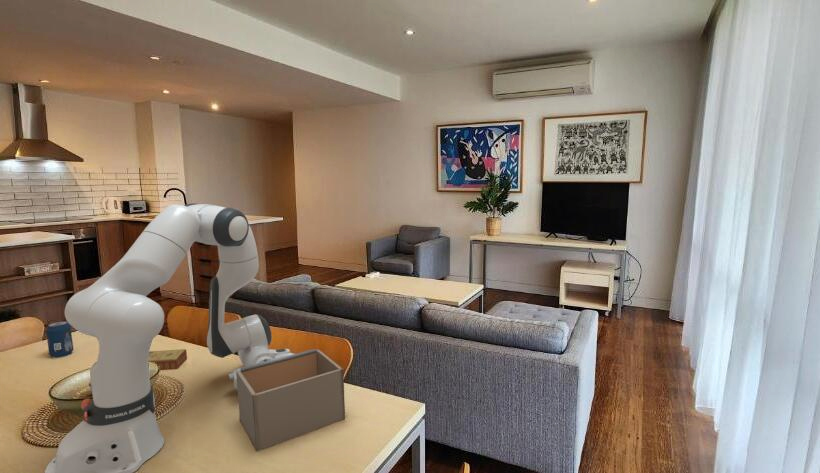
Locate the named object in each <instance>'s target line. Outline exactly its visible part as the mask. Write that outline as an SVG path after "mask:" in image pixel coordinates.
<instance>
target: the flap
mask: <svg viewBox="0 0 820 473" xmlns="http://www.w3.org/2000/svg"><path fill="white" fill-rule="evenodd" d="M316 350H317V349H316V348H313V349H309V350H305V351H301V352H298V353H297V352H296V353H293V355H289V356H285V357H281V358H277V359H273V360H269V361H266V362H262V363H258V364H254V365H250V366H246V367H245V366H243V367H239V368H240V371H241V373H242V375H243V376H244V377H245V379H246V380H247V382H248V383H249V385H250V386H251V388H252V389H253V390H254V392H255V393H260V392H263V391H266V390H270V389H273V388H277V387H280V386H283V385H287V384H290V383H294V382H297V381H300V380H304V379H307V378H310V377H314V376H317V357H316V352H317V351H316Z"/></svg>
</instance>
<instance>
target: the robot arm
mask: <svg viewBox="0 0 820 473" xmlns="http://www.w3.org/2000/svg"><path fill="white" fill-rule="evenodd" d="M195 242H197V243H201V244H204V245H210V246H216V247H217V252H218V253H217V254H218V260H219V268H218V270H217V272H216V275H215V276H214V277H213V278H212V279H211V280H210V284H209V294H208V295H209V296H208V298H209V299H208V327H207V335H206V345H207V348H208V351H209V352H210V354H211V355H213V356H215V357H217V358H221V359H223V358H225V357H228V356H230V355H233V354H234V353H237V354H238V357H239V360H240V362H241V364H242V365H243V367H246V366H250V365H254V364H258V363H262V362H266V361H269V360H273V359H277V358H281V357H285V356H289V355H293V354H294V353H293V352H291V350H290V349H289V348H283V349H281V348H280V349H271V348H270V349H269V347H270V346H271V342H272V331H271V327H270V325H269V322H268V321H267V320H266V318H264V317H263V316H262V315H260V314H257V313H256V314H253V315H248V316H245V317H242V318H239V319H236V320H233V321H229V322H225V308H226V302H227V300H228V299H229V297H231V296H232V295H233V294H234V293H235V292H237V291H238V290H240V289H242V288H243V287H245V286H246V285H248V284H249V283H251V282H252V281H253V280H254V278H255V277H256V276H257V274H258V273H259V268H260V261H259V253H258V247H257V243H256V239H255V236H254V233H253V231H252V228H251V226H250V223H249V220H248V218H247V216H246V215H245V214H244V213H243V212H242V211H241V210H238V209H236V208H233V207H225V206H220V205H216V204H211V203H208V204H207V203H200V204H199V203H195V202H194V203H187V204H184V205H183V204H175V203H174V204H170V205H168V206H166V207H165V208H164V209H163V210H161V211H160V213H158V214H157V215H156V216H155V217H154V218H153V219H152V220H151V221H150V222H149V223H148V224H147V226H146V227H145V228H144V230H142V232H141V233H140V235H139V236H138V237H137V239H136V240H135V241H134V243H133V244H132V245H131V246H130V247H129V249H128V250H127V252H125V254H124V255H123V257H122V258H121V259H120V260H119V261H118V262H117V263H115V265H113V266H112V267H111V268H110V269H109V270H107V271H106V273H104V274H103V275H102V276H101V277H99V278H98V279H97V280H96V281H95V282H94V283H93V284H91V285H89V286H88V287H86V288H84V289H82V290H80V291H78V292H76V293H75V294H73V295H72V296H71V297H70V298H69V300H68V301H67V302H66V304H65V308H64V317H65V321H67V322H68V324H69V325H70V327H72V328H74V329H75V330H76V331H77V332H78V333H80V334H84V335H86V336H89V337H92V338H96V339H97V341H98V346H99V348H98V354H97V358H96V359H97V360H96V361H95V362H94V363H93V364H92V365H91V367H90V371H89V376H90V378H89V379H90V382H91V386H92V390H91V394H92V399H91V398H85V399H83V400H82V402H81V405H80V406H81V409H82V416H83V420H81V422H80V423H79V424H77V425H76V426H75V427H74V428H72V430H71V431H69V432H68V433H67V434H65V435H64V436H63V438H61V441H60V442H59V445H58V447H57V450H56V453H55V456H54V458H53V459H51V461H49V463H48V464H47V466H46V467H45V470H44V473H135V472H136V471H138V469H139V468H141V466H142V465H143V464H144V463H145V462H147V461H148V460H149V459H151V458H152V457H154V456H155V455H156V454H158V452H159V451H160V450H161V449H162V447H163V446H164V443H165V439H164V436H163V435H162V432H161V431H160V427H159V424H158V421H157V418H156V414H155V411H156V401H155V400H156V399H155V392H154V388H153V387H152V386H151V377H150V376H151V375H150V371H149V363H148V359H149V352H150V349H151V346H152V343H153V340H154V339H155V337H158V334H159V333H160V332H161V330H162V328H163V327H164V322H165V312H164V310H163V308H162V306H161V305H160V304H159V302H156V301H155V300H152V299H151V298H149V297H147V296H148V295H149V294H150V293H151V292H153V291H154V290H156V289H157V288H160V287H161V286H164V285H166V284H167V283H168V281H170V280H171V278H172V277H173V275H174V273H175V272H176V271H177V269H178V268H179V266H180V265H181V263H182V262H183V260H184V259H185V257H186V256H187V254H188V253H189V251H190V249H191V247H192V246H193V244H194V243H195ZM240 368H241V367H238V368H235V369H234V370H233V371H232V372H231V373H229V374H228V378H229V379H230V380H231V381H232V380H233V386H234V389H235V390H237V376H236V371H237V370H240ZM240 372H241V371H240Z"/></svg>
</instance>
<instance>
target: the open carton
mask: <svg viewBox="0 0 820 473" xmlns="http://www.w3.org/2000/svg"><path fill="white" fill-rule="evenodd" d="M316 351H317V352H316V357H317V376H314V377H310V378H307V379H304V380H300V381H297V382H294V383H290V384H287V385H283V386H280V387H277V388H273V389H270V390H266V391H263V392H260V393H255V392H254V390H253V389H252V388H251V386H250V385H249V383H248V382H247V380H246V379H245V377H244V376H243V375H242V373H241V372H240V370H237V371H236V376H237V389H236V390H237V400H238V401H237V403H238V415H239V421H240V424H241V425H242V428H243V429H244V431H245V433H246V434H247V436H248V438H249V440H250V442H251V444H252V446H253V447H254V450H255V451H256V452H260V451H263V450H265V449H268V448H270V447H273V446H276V445H279V444H282V443H284V442H287V441H290V440H292V439H295V438H298V437H300V436H304V435H306V434H308V433H311V432H313V431H317V430H319V429H322V428H324V427H327V426H330V425H332V424H336V423H339V422H341V421H343V420H346V409H345V408H346V406H345V379H344V378H345V376H344V374H345V372H344V368H342V367H341V366H340V365H339V364H338V363H336V361H334V360H332V359H331V358H330V356H329V357H328V355H326V354H325V353H324V352H322V350H320V349H316Z"/></svg>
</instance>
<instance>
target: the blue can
mask: <svg viewBox="0 0 820 473" xmlns="http://www.w3.org/2000/svg"><path fill="white" fill-rule="evenodd" d="M71 327H72V326H71V325H70V324H69V323H68V322H67V320H59V321H54V322H51V323H49V324H47V327H46V329H45V332H46V340H47V347H48V349H47V350H48V355H49V356H50V357H51V358H54V359H58V358H59V359H60V358H65V357H68V356H70V355H71V354H72V353H73V351H74V342H73V336H72V335H73V334H72V328H71Z"/></svg>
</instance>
